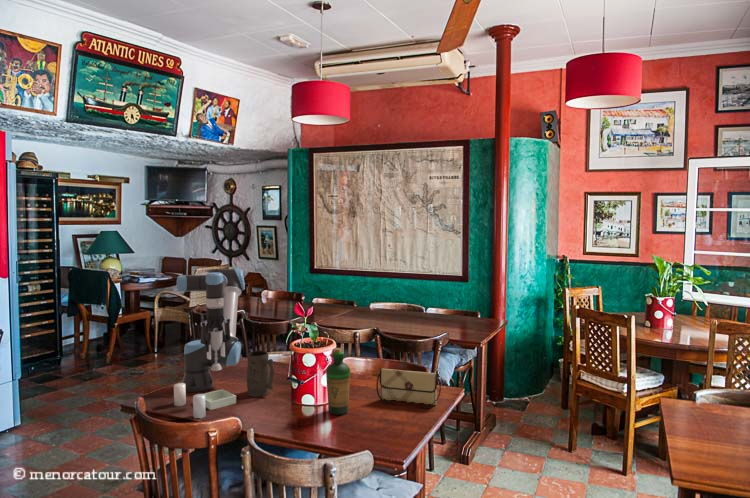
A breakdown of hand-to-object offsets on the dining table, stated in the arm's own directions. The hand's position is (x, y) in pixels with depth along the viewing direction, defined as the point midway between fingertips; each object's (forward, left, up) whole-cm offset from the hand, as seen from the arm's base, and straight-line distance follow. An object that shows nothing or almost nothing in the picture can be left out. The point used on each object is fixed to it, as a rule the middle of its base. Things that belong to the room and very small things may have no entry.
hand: (216, 357), depth 248 cm
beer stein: (-22, +3, -21) cm, 31 cm away
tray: (0, 0, -21) cm, 21 cm away
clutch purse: (-63, +60, -21) cm, 90 cm away
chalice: (0, 0, -6) cm, 6 cm away
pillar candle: (+13, +10, -21) cm, 27 cm away
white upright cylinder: (+13, -10, -21) cm, 27 cm away
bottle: (-34, +46, -21) cm, 61 cm away
